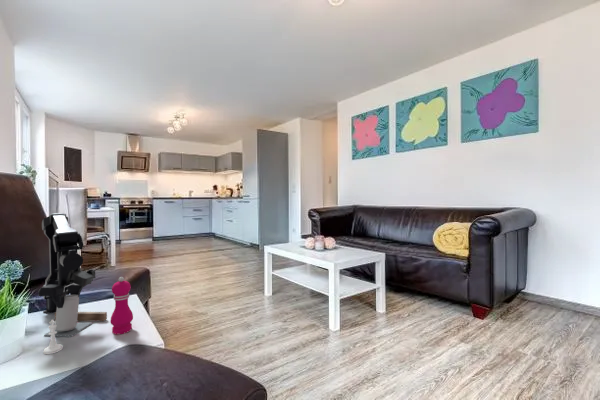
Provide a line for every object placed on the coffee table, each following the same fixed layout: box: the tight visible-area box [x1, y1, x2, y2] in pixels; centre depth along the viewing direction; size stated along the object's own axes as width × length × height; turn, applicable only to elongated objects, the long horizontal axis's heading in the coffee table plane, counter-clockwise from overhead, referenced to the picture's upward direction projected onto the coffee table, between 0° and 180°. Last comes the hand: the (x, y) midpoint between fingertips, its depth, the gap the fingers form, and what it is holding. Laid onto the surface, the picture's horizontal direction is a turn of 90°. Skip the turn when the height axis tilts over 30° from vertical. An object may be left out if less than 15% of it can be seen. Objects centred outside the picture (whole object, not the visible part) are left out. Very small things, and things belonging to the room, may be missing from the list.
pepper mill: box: [110, 276, 134, 335], centre depth 111 cm, size 7×7×20 cm
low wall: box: [54, 311, 108, 322], centre depth 120 cm, size 20×2×3 cm, turn 89°
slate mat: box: [43, 322, 93, 338], centre depth 112 cm, size 10×10×1 cm
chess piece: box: [42, 318, 64, 355], centre depth 98 cm, size 5×5×10 cm
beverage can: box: [54, 294, 80, 331], centre depth 111 cm, size 6×6×12 cm
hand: (68, 307), depth 112 cm, fingers closed on beverage can, 6 cm apart
